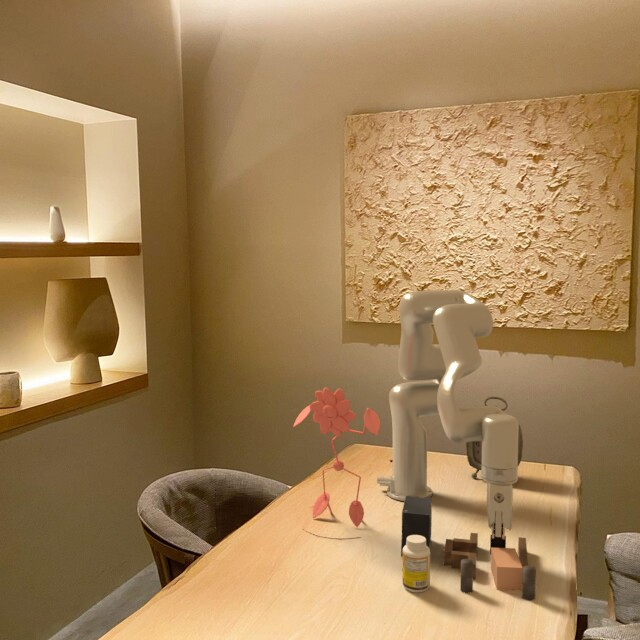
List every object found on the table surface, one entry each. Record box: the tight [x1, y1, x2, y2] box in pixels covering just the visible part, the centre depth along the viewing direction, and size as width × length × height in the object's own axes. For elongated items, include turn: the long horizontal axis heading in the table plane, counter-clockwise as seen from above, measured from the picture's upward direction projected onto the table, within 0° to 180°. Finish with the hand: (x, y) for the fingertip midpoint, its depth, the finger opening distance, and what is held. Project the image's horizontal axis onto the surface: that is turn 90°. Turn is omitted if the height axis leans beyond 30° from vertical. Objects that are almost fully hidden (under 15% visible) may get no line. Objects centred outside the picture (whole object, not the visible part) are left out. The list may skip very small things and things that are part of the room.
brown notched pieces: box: [443, 532, 537, 601], centre depth 146 cm, size 18×22×6 cm
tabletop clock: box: [465, 396, 524, 479], centre depth 202 cm, size 14×9×25 cm, turn 55°
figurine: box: [292, 387, 382, 541], centre depth 169 cm, size 15×26×35 cm, turn 56°
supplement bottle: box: [402, 535, 431, 593], centre depth 139 cm, size 6×6×10 cm
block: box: [490, 547, 523, 592], centre depth 142 cm, size 5×9×5 cm, turn 173°
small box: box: [400, 496, 433, 557], centre depth 157 cm, size 11×6×10 cm, turn 168°
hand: (497, 554), depth 149 cm, fingers closed
